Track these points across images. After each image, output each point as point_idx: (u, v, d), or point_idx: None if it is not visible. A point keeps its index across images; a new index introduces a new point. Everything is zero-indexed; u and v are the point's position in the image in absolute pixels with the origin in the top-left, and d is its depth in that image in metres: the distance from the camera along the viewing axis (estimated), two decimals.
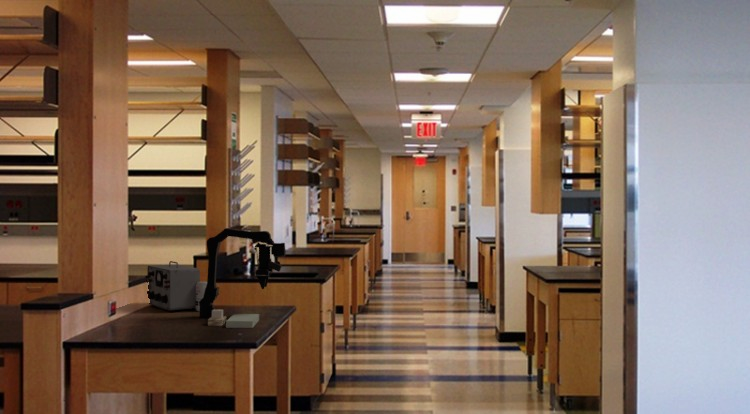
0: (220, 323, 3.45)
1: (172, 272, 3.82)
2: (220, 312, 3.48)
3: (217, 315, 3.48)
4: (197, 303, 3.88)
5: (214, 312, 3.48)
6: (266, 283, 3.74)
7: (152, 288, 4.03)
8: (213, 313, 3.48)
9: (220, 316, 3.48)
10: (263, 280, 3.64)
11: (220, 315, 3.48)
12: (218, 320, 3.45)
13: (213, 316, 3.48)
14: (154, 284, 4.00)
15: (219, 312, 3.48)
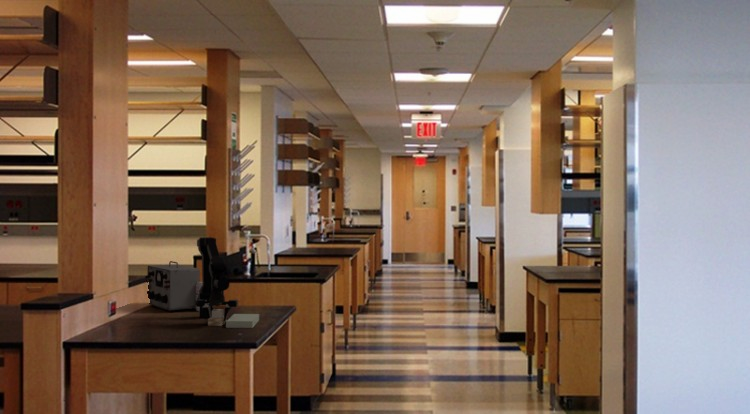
0: (220, 323, 3.45)
1: (172, 272, 3.82)
2: (220, 312, 3.48)
3: (217, 315, 3.48)
4: None
5: (214, 312, 3.48)
6: (224, 318, 3.50)
7: (152, 288, 4.03)
8: (213, 313, 3.48)
9: (220, 316, 3.48)
10: None
11: (220, 315, 3.48)
12: (218, 320, 3.45)
13: (213, 316, 3.48)
14: (154, 284, 4.00)
15: (219, 312, 3.48)
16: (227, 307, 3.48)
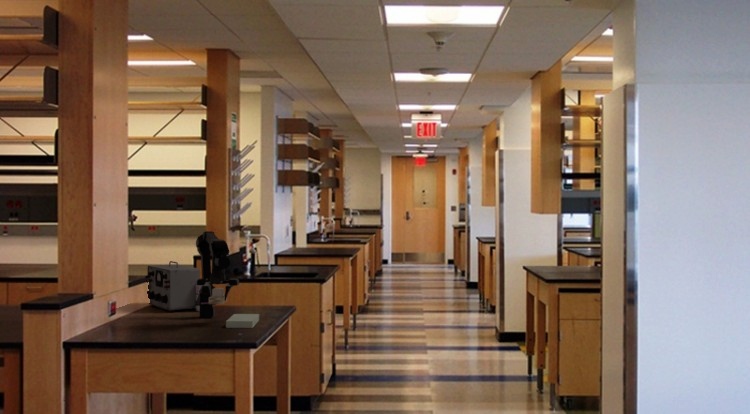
0: (221, 301, 3.45)
1: (172, 272, 3.82)
2: (221, 290, 3.48)
3: (218, 293, 3.48)
4: None
5: (215, 290, 3.48)
6: None
7: (152, 288, 4.03)
8: (214, 291, 3.48)
9: (221, 294, 3.48)
10: None
11: (221, 293, 3.48)
12: (219, 298, 3.45)
13: (214, 294, 3.48)
14: (154, 284, 4.00)
15: (220, 290, 3.48)
16: (228, 286, 3.48)
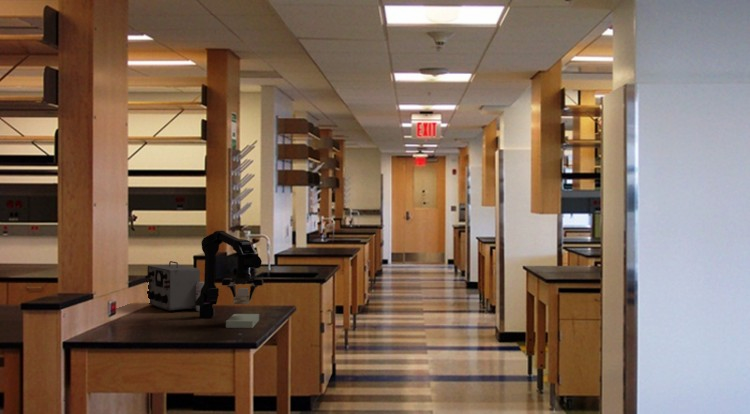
0: (246, 301, 3.45)
1: (172, 272, 3.82)
2: (245, 290, 3.48)
3: (242, 293, 3.48)
4: None
5: (239, 290, 3.48)
6: None
7: (152, 288, 4.03)
8: (238, 291, 3.48)
9: (245, 294, 3.48)
10: None
11: (245, 293, 3.48)
12: (244, 298, 3.45)
13: (238, 294, 3.48)
14: (154, 284, 4.00)
15: (244, 290, 3.48)
16: (252, 286, 3.48)
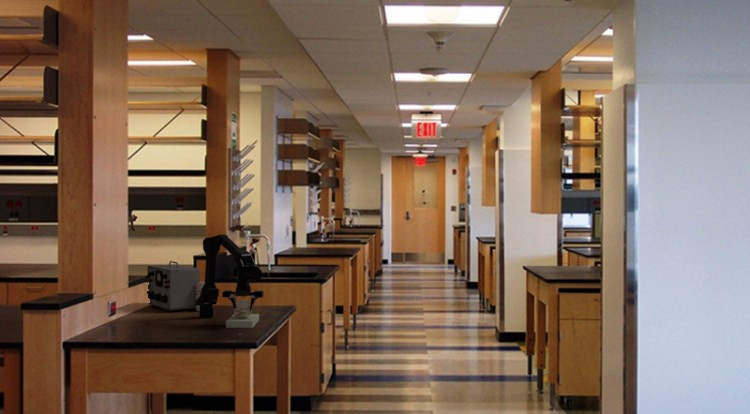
0: (246, 313, 3.45)
1: (172, 272, 3.82)
2: (246, 302, 3.48)
3: (243, 305, 3.48)
4: None
5: (240, 302, 3.48)
6: None
7: (152, 288, 4.03)
8: (239, 303, 3.48)
9: (246, 306, 3.48)
10: None
11: (246, 305, 3.48)
12: (244, 310, 3.45)
13: (239, 306, 3.48)
14: (154, 284, 4.00)
15: (245, 302, 3.48)
16: (253, 298, 3.48)
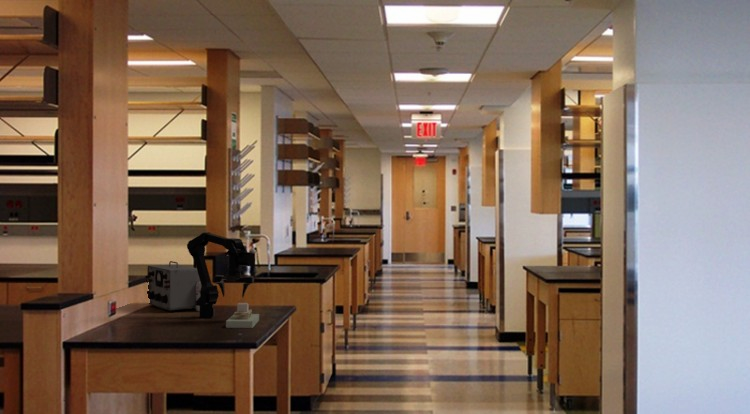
0: (246, 316, 3.45)
1: (172, 272, 3.82)
2: (246, 305, 3.48)
3: (243, 308, 3.48)
4: None
5: (240, 305, 3.48)
6: None
7: (152, 288, 4.03)
8: (239, 306, 3.48)
9: (246, 309, 3.48)
10: None
11: (246, 308, 3.48)
12: (244, 313, 3.45)
13: (239, 309, 3.48)
14: (154, 284, 4.00)
15: (245, 305, 3.48)
16: (245, 283, 3.58)
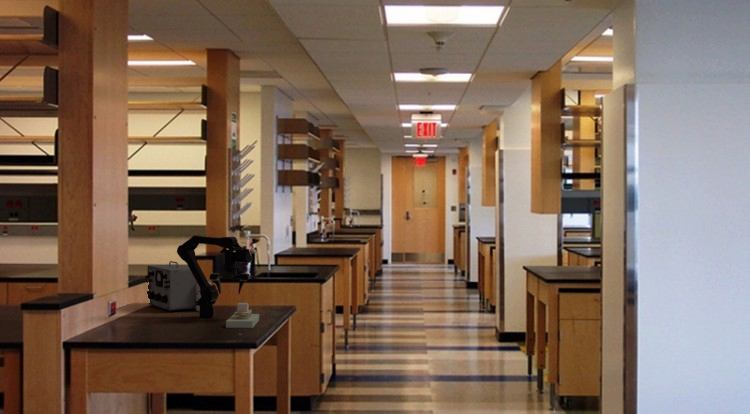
0: (246, 316, 3.45)
1: (172, 272, 3.82)
2: (246, 305, 3.48)
3: (243, 308, 3.48)
4: None
5: (240, 305, 3.48)
6: None
7: (152, 288, 4.03)
8: (239, 306, 3.48)
9: (246, 309, 3.48)
10: None
11: (246, 308, 3.48)
12: (244, 313, 3.45)
13: (239, 309, 3.48)
14: (154, 284, 4.00)
15: (245, 305, 3.48)
16: (241, 280, 3.63)
